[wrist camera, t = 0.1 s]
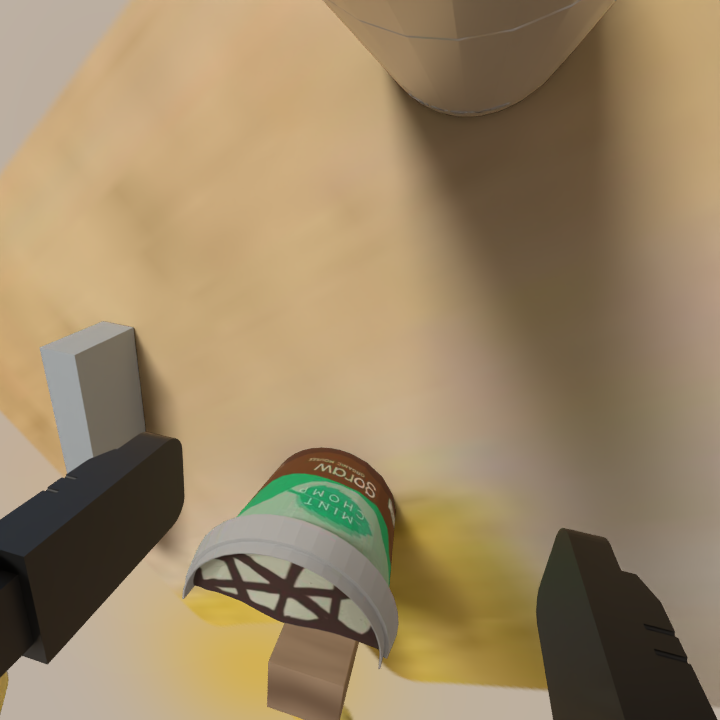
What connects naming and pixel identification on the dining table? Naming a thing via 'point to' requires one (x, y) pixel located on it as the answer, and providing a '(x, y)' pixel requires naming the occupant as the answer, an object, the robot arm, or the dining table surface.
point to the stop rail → (94, 390)
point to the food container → (310, 549)
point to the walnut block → (310, 673)
